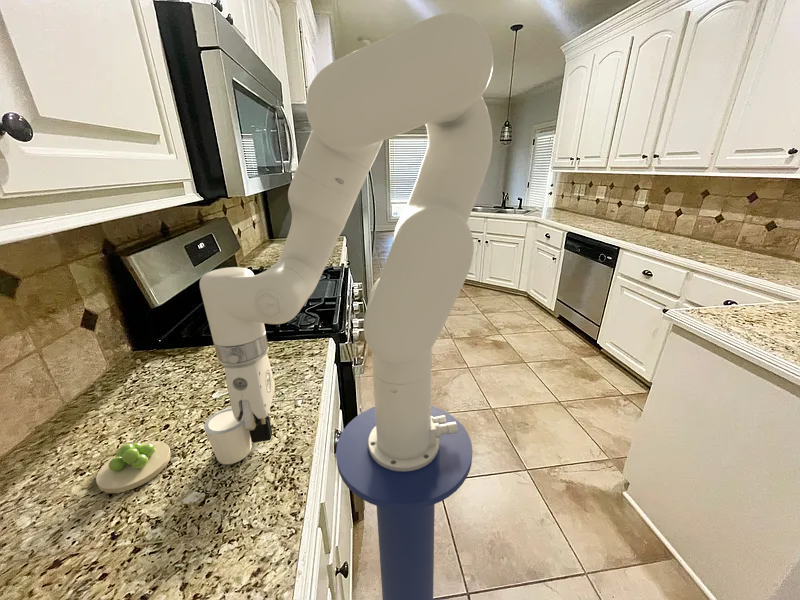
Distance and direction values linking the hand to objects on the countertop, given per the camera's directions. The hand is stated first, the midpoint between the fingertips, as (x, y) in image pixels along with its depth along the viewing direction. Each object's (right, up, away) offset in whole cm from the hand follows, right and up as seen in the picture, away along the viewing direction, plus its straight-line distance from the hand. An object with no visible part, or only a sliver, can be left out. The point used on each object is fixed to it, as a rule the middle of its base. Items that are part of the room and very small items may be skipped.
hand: (262, 438), depth 61 cm
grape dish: (-20, -4, -3) cm, 21 cm away
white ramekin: (-5, -2, 0) cm, 5 cm away
